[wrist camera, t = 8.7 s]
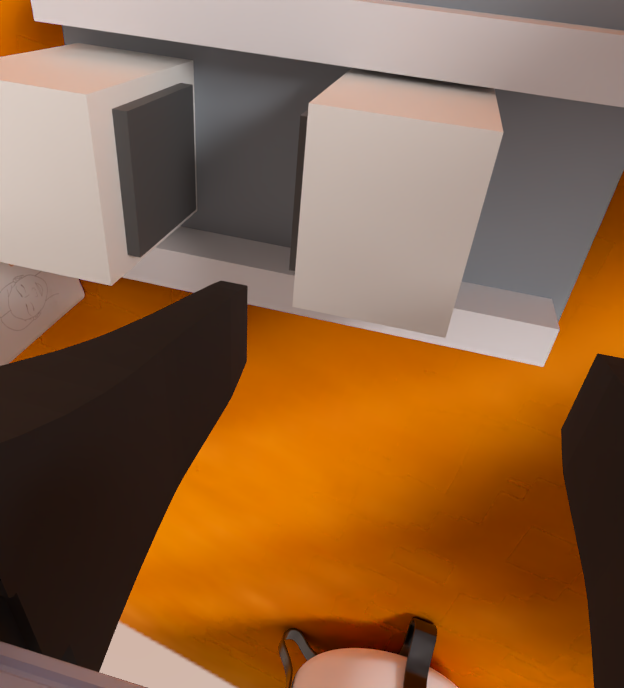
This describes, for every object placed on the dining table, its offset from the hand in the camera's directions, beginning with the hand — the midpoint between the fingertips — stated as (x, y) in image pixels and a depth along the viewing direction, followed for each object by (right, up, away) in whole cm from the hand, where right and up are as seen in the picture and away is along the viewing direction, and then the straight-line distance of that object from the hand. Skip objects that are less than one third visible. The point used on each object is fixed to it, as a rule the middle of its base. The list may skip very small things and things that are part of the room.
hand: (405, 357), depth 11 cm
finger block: (+1, +6, +6) cm, 9 cm away
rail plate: (-1, +7, +7) cm, 10 cm away
